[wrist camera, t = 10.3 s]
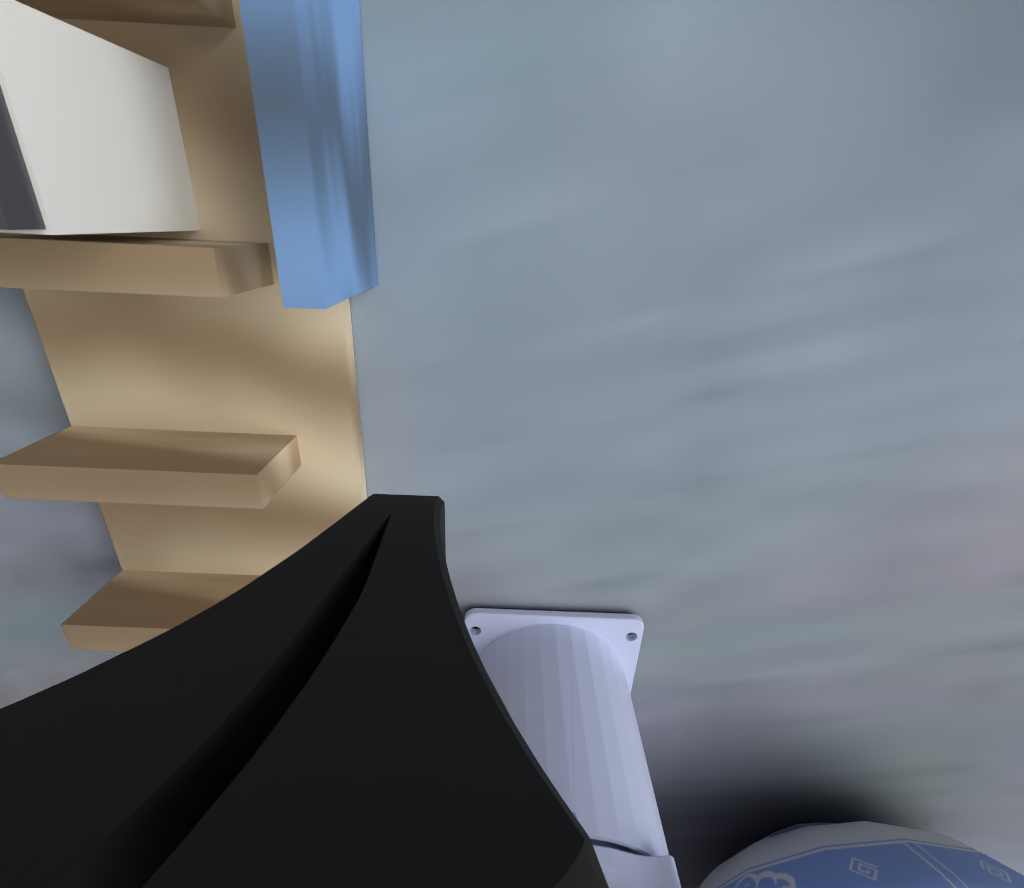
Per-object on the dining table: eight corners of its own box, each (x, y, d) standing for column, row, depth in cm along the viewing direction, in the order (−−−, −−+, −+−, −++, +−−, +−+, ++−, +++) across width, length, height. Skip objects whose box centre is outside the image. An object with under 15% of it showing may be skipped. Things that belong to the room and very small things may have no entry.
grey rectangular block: (200, 230, 15) (16, 236, 9) (66, 223, 15) (-198, 225, 9) (168, 67, 13) (-78, -41, 8) (16, 59, 13) (-339, -56, 8)
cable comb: (397, 586, 22) (366, 684, 17) (146, 577, 22) (48, 672, 17) (358, -9, 13) (276, -130, 9) (-55, -32, 13) (-358, -166, 9)
